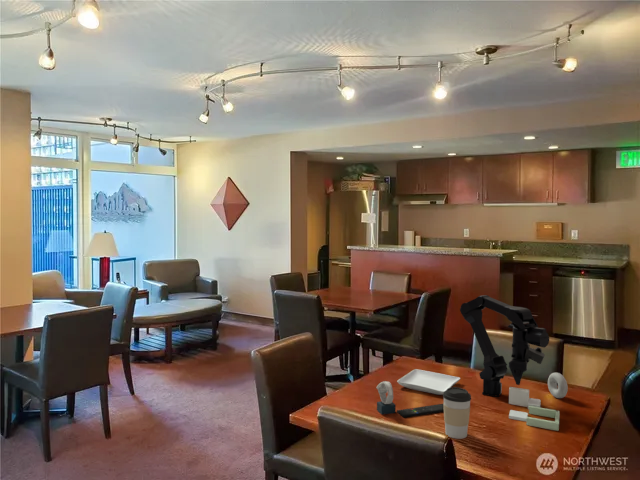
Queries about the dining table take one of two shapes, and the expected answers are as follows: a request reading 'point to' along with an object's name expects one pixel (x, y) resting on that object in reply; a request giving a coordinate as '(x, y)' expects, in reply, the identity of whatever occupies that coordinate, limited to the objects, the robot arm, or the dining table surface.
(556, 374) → the donut
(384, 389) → the abstract loop sculpture
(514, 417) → the tile
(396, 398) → the dining table surface
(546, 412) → the green c-shaped block
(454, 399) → the coffee cup
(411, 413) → the remote control
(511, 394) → the scraper
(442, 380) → the salad plate
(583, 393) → the dining table surface
